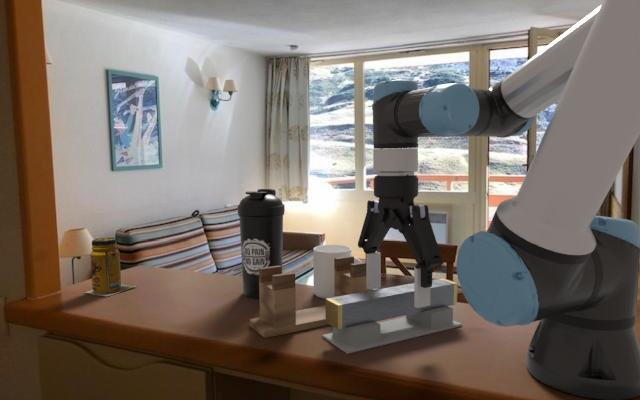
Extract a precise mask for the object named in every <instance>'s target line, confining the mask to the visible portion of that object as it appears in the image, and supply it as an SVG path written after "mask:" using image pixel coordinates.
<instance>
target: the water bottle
mask: <svg viewBox="0 0 640 400" xmlns="http://www.w3.org/2000/svg"><path fill="white" fill-rule="evenodd" d="M276 194H277V192H276V190H275V188H274V189H272V188H259V189H257V191H245V195H246V196H245V197H242V199H241V200H240V202H239V204H238V205H237V216H238V217H239V232H240V252H241V270H242V271H241V273H242V288H243V290H242V291H243V296H244V297H245V298H248V299H252V298H253V299H252V300H260V299H259V268H263V267H271V266H278V265H279V266H281V274H283V252H284V251H283V243H284V242H283V239H284V238H283V237H284V235H283V234H284V233H283V232H284V229H283V228H284V216H285V212H286V211H285V204H284V203H283V201H282V200H281V198H280V197H278V196H276Z"/></svg>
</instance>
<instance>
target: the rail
mask: <svg viewBox="0 0 640 400" xmlns="http://www.w3.org/2000/svg"><path fill="white" fill-rule="evenodd" d="M324 300H325V301H324V302H325V305H324V306H325V307H326V323H328V324H329V325H330V326H331V327H332V328H333V327H334V328H336V329H338V330H339V329H344V328H348V327H353V326H358V325H362V324H367V323H372V322H380V321H381V322H382V321H387V320H391V319H396V318H401V317H405V316H406V315H409V314H414V313H418V312H423V311H428V310H432V309H437V308H442V307H446V306H448V307H450V306H456V305H458V282H456V281H452V280H450V279H446V278H444V277H442V278H436V279H434V278H433V279H432V287H430V306H425V307H420V308H416V307H414V282H412V283H407V284H402V285H396V286H390V287H385V288H377V289H374V290H373V289H371V291H367V292H361V293H355V294H350V295H344V296H338V297H333V298H327V299H324ZM329 325H328V326H329Z"/></svg>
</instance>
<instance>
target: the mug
mask: <svg viewBox="0 0 640 400" xmlns="http://www.w3.org/2000/svg"><path fill="white" fill-rule="evenodd" d="M312 251H313V252H312V253H313V260H312V263H313V293H314V295H315V297H317V298H320V299H324V300H325V299H327V298H333V297H334V258H338V257H346V256H352V247H350V246H348V245H343V244H342V245H341V244H322V245H317V246H315V247H313V249H312ZM361 262H362V260H361V259H359V258H358V257H356V256H354V263H361Z"/></svg>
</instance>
